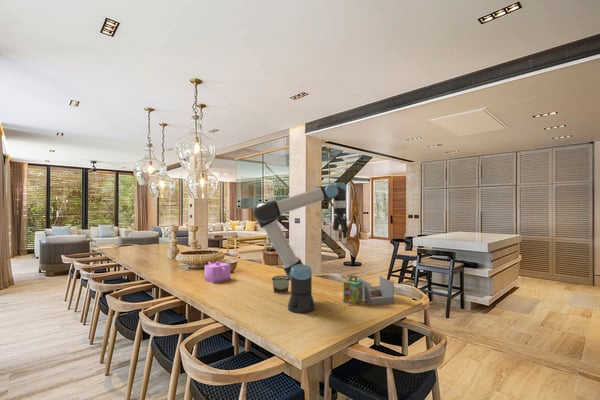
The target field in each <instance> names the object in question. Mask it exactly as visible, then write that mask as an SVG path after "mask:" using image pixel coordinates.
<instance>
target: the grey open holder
mask: <svg viewBox="0 0 600 400" xmlns="http://www.w3.org/2000/svg"><path fill="white" fill-rule="evenodd" d="M357 281H362V282H363V289H362V301H363V302H365V303H366V304H367V305H369V306H377V305H387V304H388V305H389V304H394V303H395V290H394V289H395V282H393V281H391V280H390V279H387V278H385V277H383V276H381V275H379V289H374V290H373V289H372V284H371V283H370V282H368V281H366V280H364V279H362V278H361V277H357ZM377 296H380V297H377ZM372 297H377V298H372Z"/></svg>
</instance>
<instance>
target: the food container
mask: <svg viewBox="0 0 600 400" xmlns="http://www.w3.org/2000/svg"><path fill="white" fill-rule="evenodd" d="M271 281H272V286H273V293H275V294H276V293H279V294H281V293H282V294H283V293H284V294H286V293H287V294H288V293H289V288H290V287H289V286H290V280H289V279H288V277H287V275H275V276H273V277H271Z"/></svg>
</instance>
